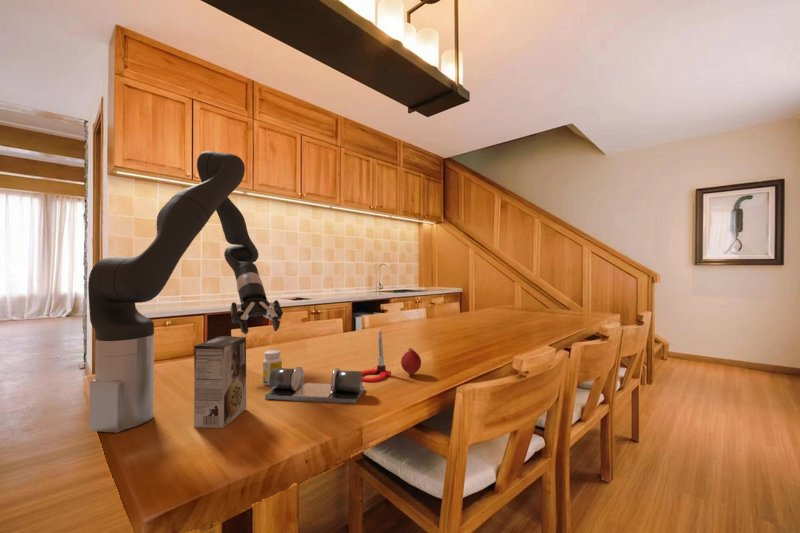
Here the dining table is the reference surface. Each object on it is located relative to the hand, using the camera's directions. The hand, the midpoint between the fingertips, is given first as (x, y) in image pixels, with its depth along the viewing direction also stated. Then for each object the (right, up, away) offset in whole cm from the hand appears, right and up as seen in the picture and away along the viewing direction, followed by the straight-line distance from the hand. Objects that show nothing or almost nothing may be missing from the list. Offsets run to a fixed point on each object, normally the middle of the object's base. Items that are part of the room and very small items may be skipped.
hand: (262, 331), depth 100 cm
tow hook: (+32, -13, -2) cm, 35 cm away
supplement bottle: (+6, -13, -7) cm, 16 cm away
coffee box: (+3, -13, -29) cm, 32 cm away
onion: (+44, -13, 0) cm, 46 cm away
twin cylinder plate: (+20, -13, -16) cm, 28 cm away
